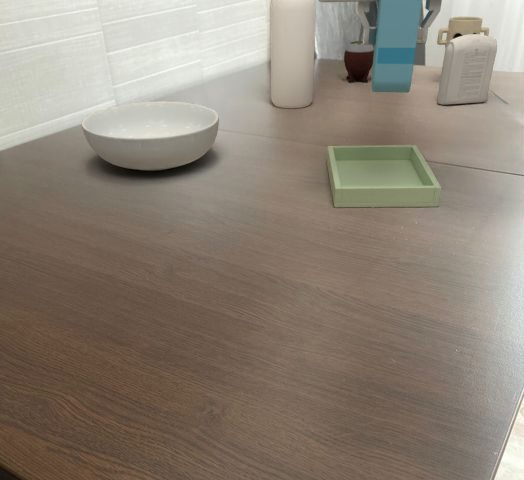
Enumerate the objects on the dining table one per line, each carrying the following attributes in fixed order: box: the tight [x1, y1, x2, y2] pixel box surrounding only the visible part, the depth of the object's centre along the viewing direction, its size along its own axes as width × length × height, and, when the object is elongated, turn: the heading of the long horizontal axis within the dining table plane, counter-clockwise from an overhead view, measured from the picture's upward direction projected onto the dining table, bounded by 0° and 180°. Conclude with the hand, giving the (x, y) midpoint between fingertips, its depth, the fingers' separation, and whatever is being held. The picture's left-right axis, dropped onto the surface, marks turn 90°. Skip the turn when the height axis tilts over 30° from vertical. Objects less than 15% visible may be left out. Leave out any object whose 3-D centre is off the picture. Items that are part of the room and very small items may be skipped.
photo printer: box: [436, 33, 498, 106], centre depth 111 cm, size 10×4×12 cm, turn 102°
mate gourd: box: [343, 12, 374, 83], centre depth 128 cm, size 8×8×15 cm
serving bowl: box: [80, 100, 220, 172], centre depth 87 cm, size 21×21×7 cm
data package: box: [371, 0, 423, 93], centre depth 68 cm, size 12×4×12 cm, turn 171°
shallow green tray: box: [326, 144, 442, 208], centre depth 79 cm, size 14×18×3 cm
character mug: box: [436, 16, 490, 50], centre depth 125 cm, size 11×7×13 cm, turn 84°
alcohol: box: [269, 0, 317, 109], centre depth 108 cm, size 9×9×30 cm
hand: (393, 43), depth 68 cm, fingers closed on data package, 5 cm apart
